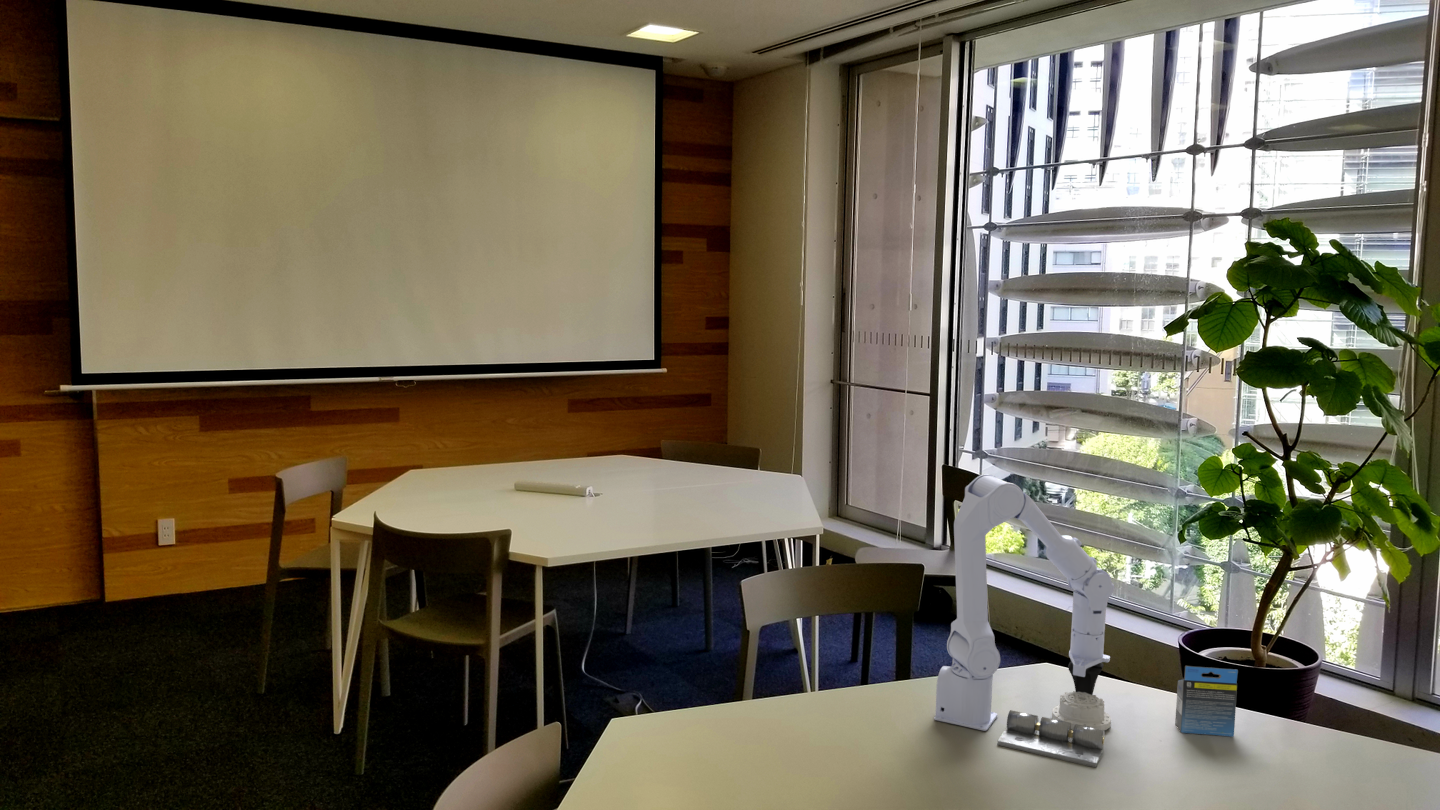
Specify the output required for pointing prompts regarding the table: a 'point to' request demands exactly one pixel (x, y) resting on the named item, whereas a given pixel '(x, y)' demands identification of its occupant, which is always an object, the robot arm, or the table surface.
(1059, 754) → the hinge leaf
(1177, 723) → the blue ink cartridge box
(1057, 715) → the mechanical component
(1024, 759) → the table surface
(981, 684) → the robot arm
